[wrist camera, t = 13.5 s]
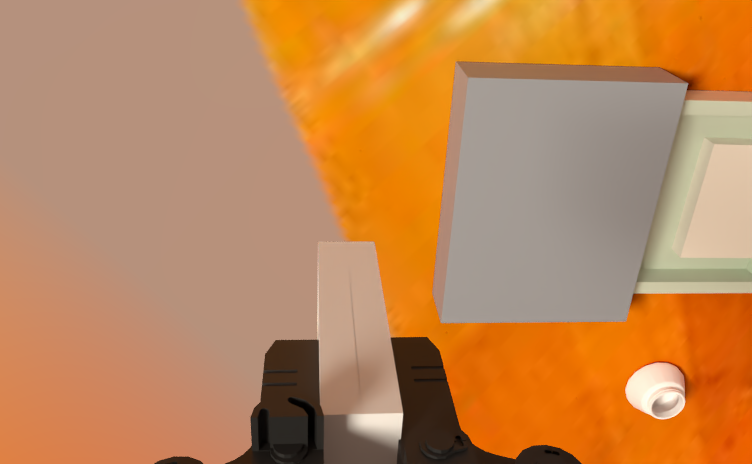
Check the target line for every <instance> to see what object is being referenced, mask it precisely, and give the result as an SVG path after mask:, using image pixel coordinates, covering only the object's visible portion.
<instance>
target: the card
mask: <svg viewBox="0 0 752 464" xmlns="http://www.w3.org/2000/svg"><path fill="white" fill-rule="evenodd" d="M672 250H673V251H674V252H675V253H676V254H677V255H678V256H679V257H680V258H752V139H749V138H710V137H704V139H703V143H702V146H701V149H700V153H699V156H698V160H697V163H696V167H695V170H694V173H693V177H692V180H691V184H690V187H689V191H688V194H687V198H686V201H685V204H684V208H683V211H682V215H681V218H680V222H679V225H678V228H677V232H676V235H675V239H674V242H673V246H672Z"/></svg>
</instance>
